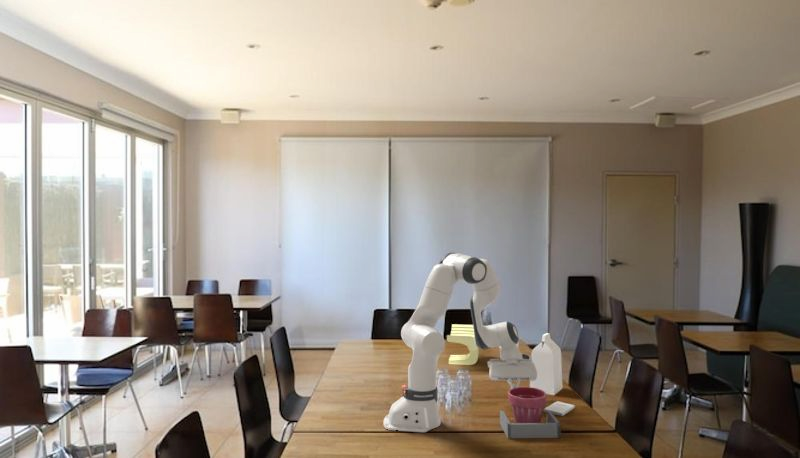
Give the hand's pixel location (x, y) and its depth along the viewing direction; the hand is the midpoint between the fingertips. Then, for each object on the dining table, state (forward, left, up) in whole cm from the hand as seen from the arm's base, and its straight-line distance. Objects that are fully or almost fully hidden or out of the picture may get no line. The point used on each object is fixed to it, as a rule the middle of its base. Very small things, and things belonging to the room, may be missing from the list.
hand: (515, 389), depth 220 cm
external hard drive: (+18, -1, -9) cm, 20 cm away
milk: (+20, +25, -9) cm, 33 cm away
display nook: (0, -22, -8) cm, 24 cm away
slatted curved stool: (-12, +75, -9) cm, 76 cm away
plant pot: (+1, -17, -9) cm, 19 cm away
